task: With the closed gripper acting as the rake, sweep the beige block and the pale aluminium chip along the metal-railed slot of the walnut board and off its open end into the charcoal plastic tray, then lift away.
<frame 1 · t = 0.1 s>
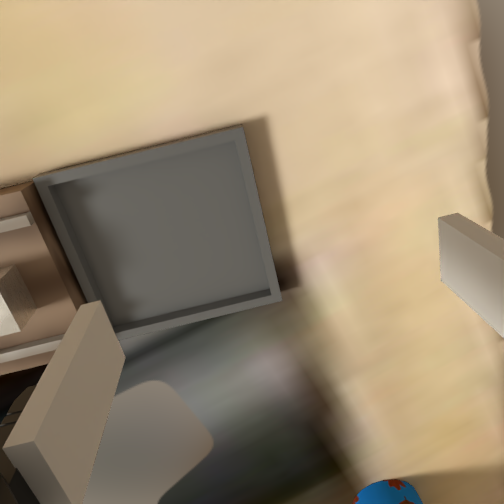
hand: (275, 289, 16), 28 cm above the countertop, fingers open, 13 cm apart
chip tray: (170, 237, 45), on the countertop
thermos: (383, 502, 65), on the countertop
beige block: (1, 293, 41), point 4 cm above the countertop, touching slot board
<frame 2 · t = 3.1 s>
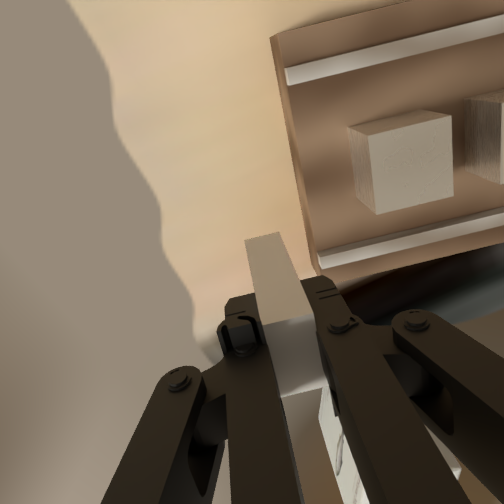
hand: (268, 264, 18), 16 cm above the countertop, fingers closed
supplement box: (354, 387, 43), on the countertop
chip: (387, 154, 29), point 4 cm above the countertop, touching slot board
beige block: (499, 127, 29), point 4 cm above the countertop, touching slot board
slot board: (417, 132, 33), on the countertop
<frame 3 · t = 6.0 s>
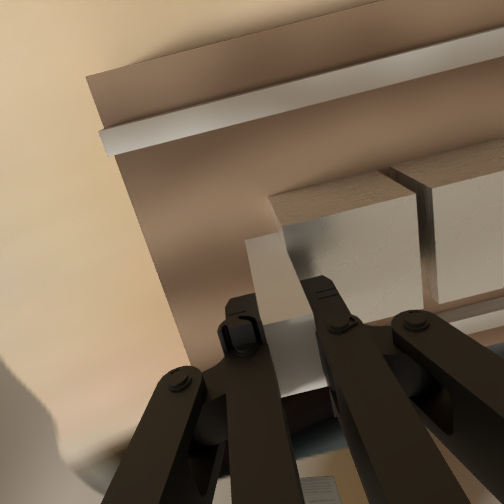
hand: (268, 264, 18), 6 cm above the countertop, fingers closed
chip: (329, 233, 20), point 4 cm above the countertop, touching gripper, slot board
beige block: (445, 204, 20), point 4 cm above the countertop, touching slot board
slot board: (339, 200, 24), on the countertop
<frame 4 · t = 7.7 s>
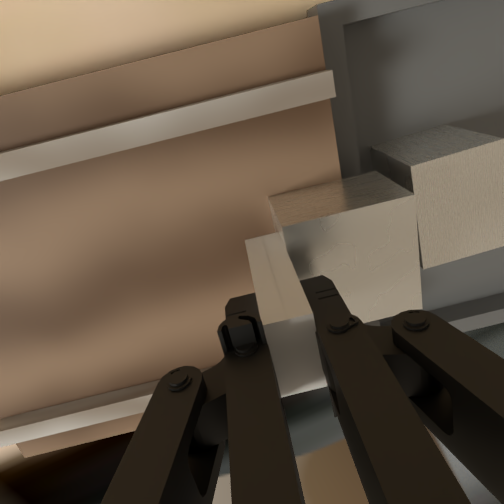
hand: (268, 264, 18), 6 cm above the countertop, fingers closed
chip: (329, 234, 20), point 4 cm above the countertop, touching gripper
beige block: (394, 204, 21), point 3 cm above the countertop, tilted 90°, touching chip tray
slot board: (154, 245, 24), on the countertop
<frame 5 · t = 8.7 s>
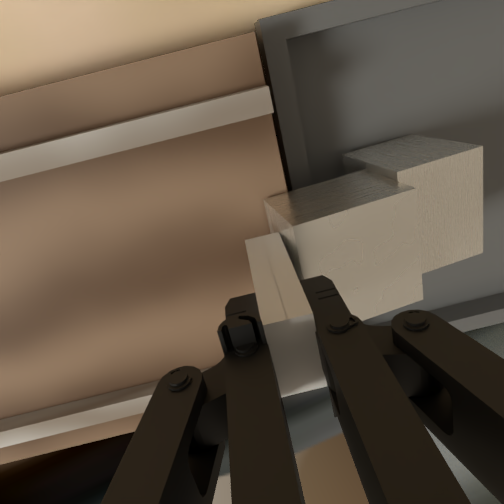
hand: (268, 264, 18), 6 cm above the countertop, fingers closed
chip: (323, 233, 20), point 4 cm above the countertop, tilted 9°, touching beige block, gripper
chip tray: (466, 167, 24), on the countertop
beige block: (372, 213, 20), point 4 cm above the countertop, tilted 99°, touching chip
slot board: (111, 256, 24), on the countertop
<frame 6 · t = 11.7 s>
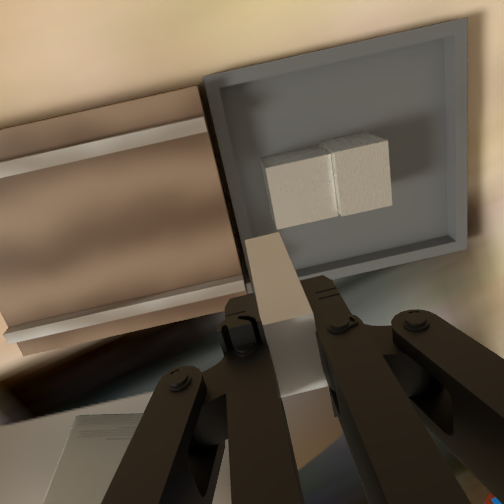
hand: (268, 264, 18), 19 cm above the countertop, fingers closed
supplement box: (113, 437, 46), on the countertop
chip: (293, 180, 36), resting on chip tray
chip tray: (342, 167, 37), on the countertop
beige block: (329, 177, 34), point 3 cm above the countertop, tilted 90°, touching chip tray
slot board: (111, 219, 37), on the countertop
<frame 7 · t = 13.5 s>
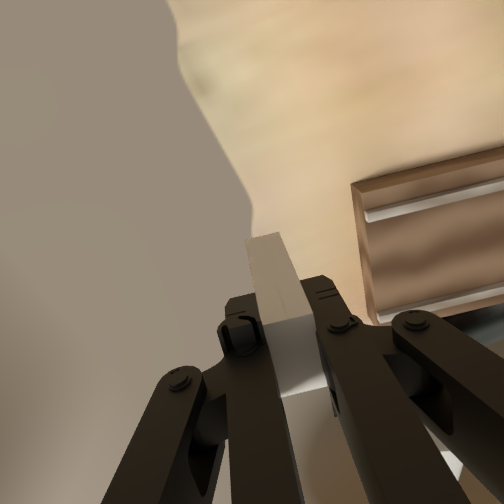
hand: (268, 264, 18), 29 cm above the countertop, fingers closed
supplement box: (391, 396, 62), on the countertop
slot board: (439, 234, 52), on the countertop
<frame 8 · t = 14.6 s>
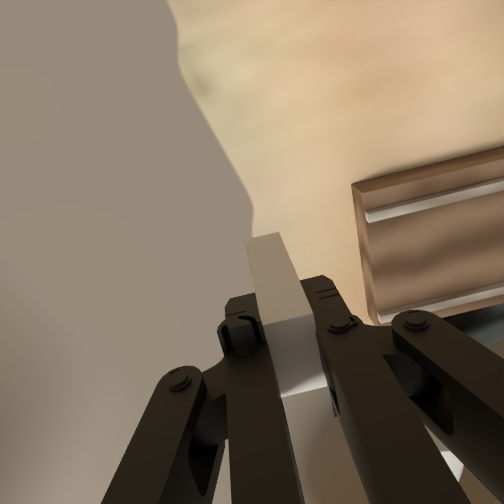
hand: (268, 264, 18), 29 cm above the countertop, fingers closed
supplement box: (392, 396, 62), on the countertop
slot board: (440, 234, 52), on the countertop
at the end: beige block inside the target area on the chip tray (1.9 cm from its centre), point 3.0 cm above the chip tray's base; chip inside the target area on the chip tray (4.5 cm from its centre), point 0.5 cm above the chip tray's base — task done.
